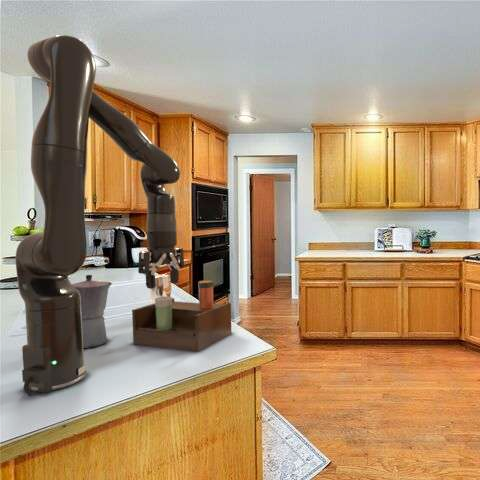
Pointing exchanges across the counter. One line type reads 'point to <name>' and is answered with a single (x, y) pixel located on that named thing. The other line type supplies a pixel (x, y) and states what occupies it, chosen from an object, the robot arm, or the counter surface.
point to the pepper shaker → (205, 294)
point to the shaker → (163, 313)
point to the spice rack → (183, 326)
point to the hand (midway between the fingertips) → (163, 285)
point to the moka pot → (93, 310)
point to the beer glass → (161, 287)
